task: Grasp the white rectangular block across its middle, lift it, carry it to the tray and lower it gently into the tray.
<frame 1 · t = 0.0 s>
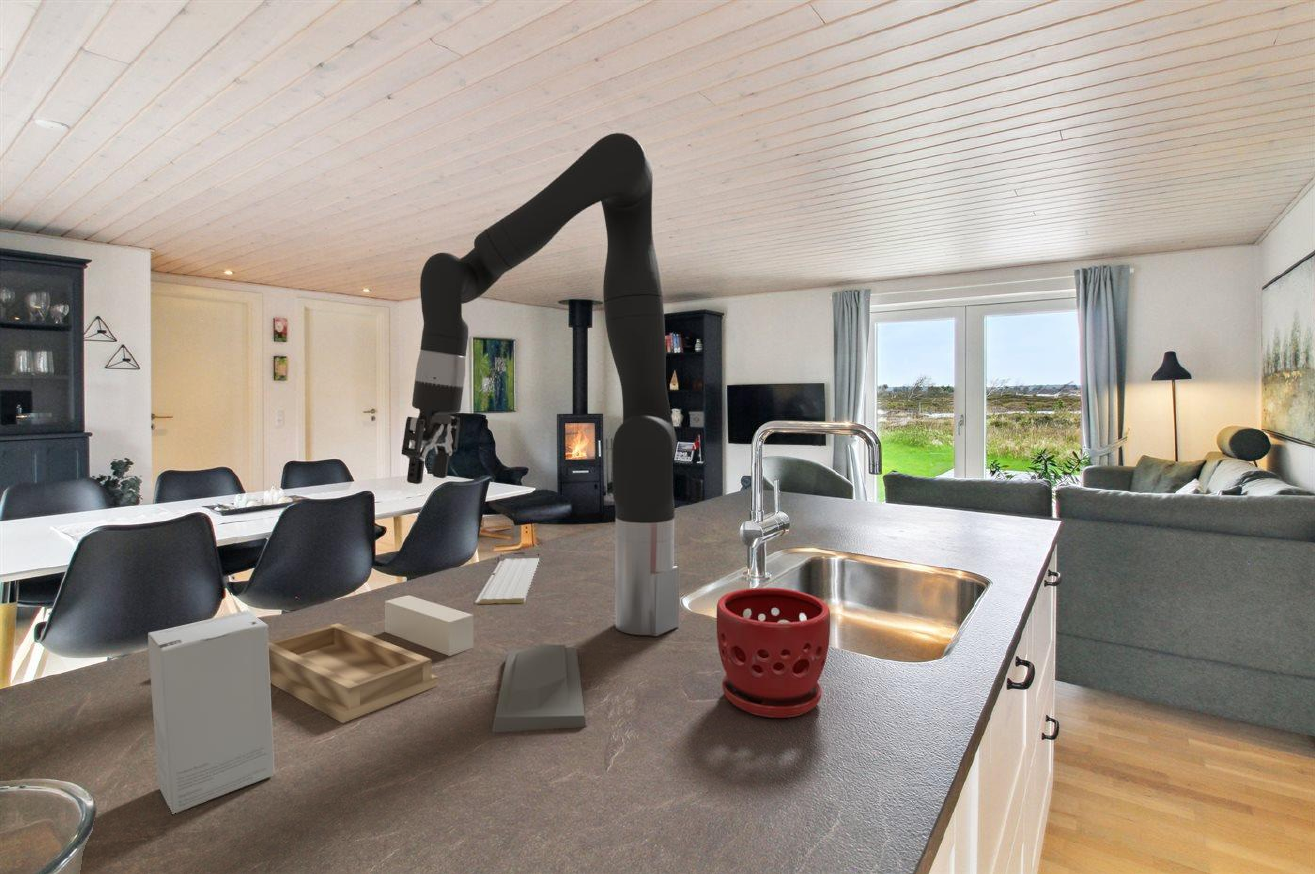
hand: (427, 480, 108), 22 cm above the countertop, tool pointing down, fingers open, 8 cm apart
ceramic fragment: (219, 674, 86), on the countertop
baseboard: (507, 584, 131), on the countertop
tray: (343, 679, 83), on the countertop
soap mold: (541, 696, 81), on the countertop
white rectangular block: (427, 641, 98), on the countertop
plant pot: (771, 703, 78), on the countertop
skincare box: (215, 786, 60), on the countertop
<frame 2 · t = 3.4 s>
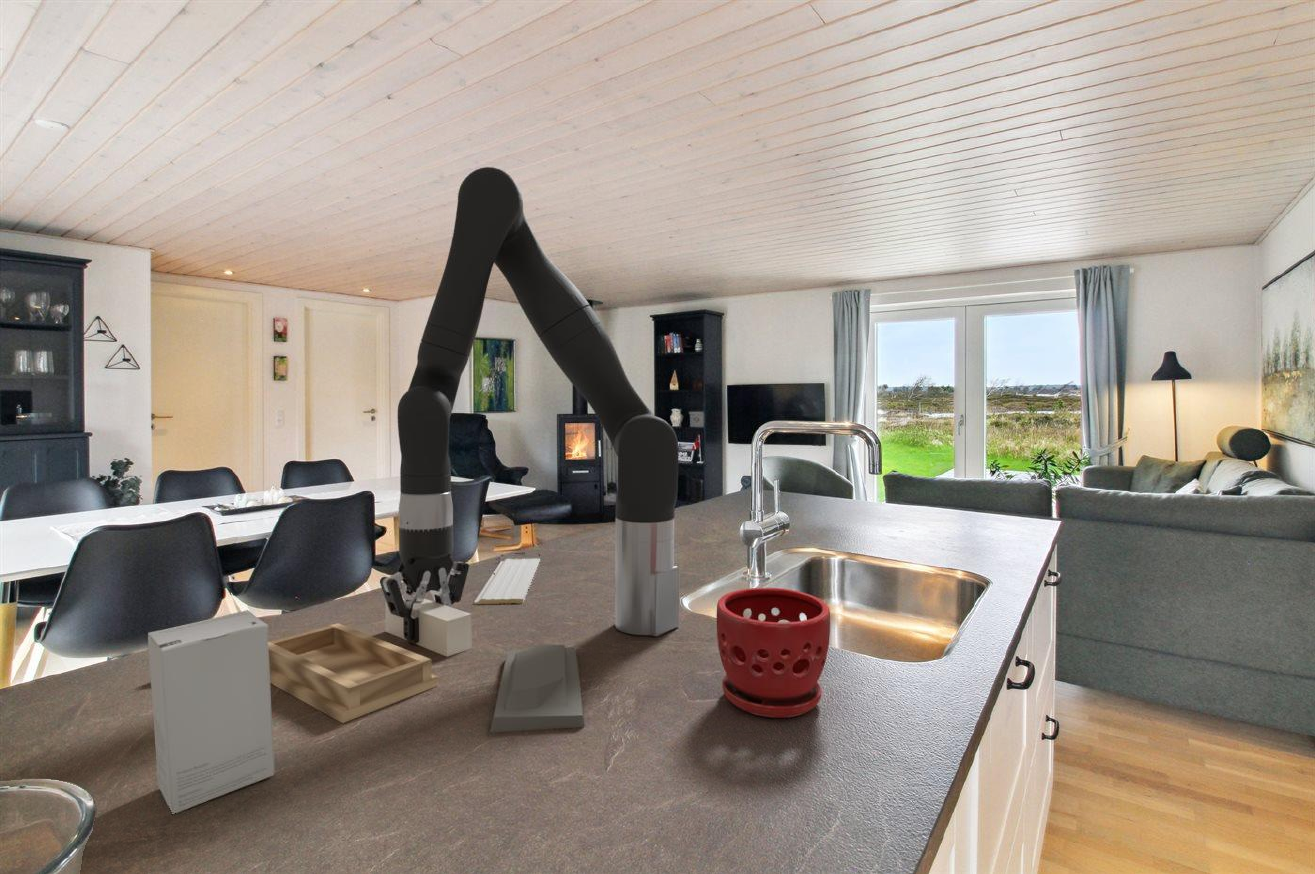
hand: (427, 636, 98), 0 cm above the countertop, tool pointing down, fingers closed on white rectangular block, 4 cm apart
ceramic fragment: (218, 677, 85), on the countertop
white rectangular block: (427, 639, 98), on the countertop, touching gripper
everything else where it was.
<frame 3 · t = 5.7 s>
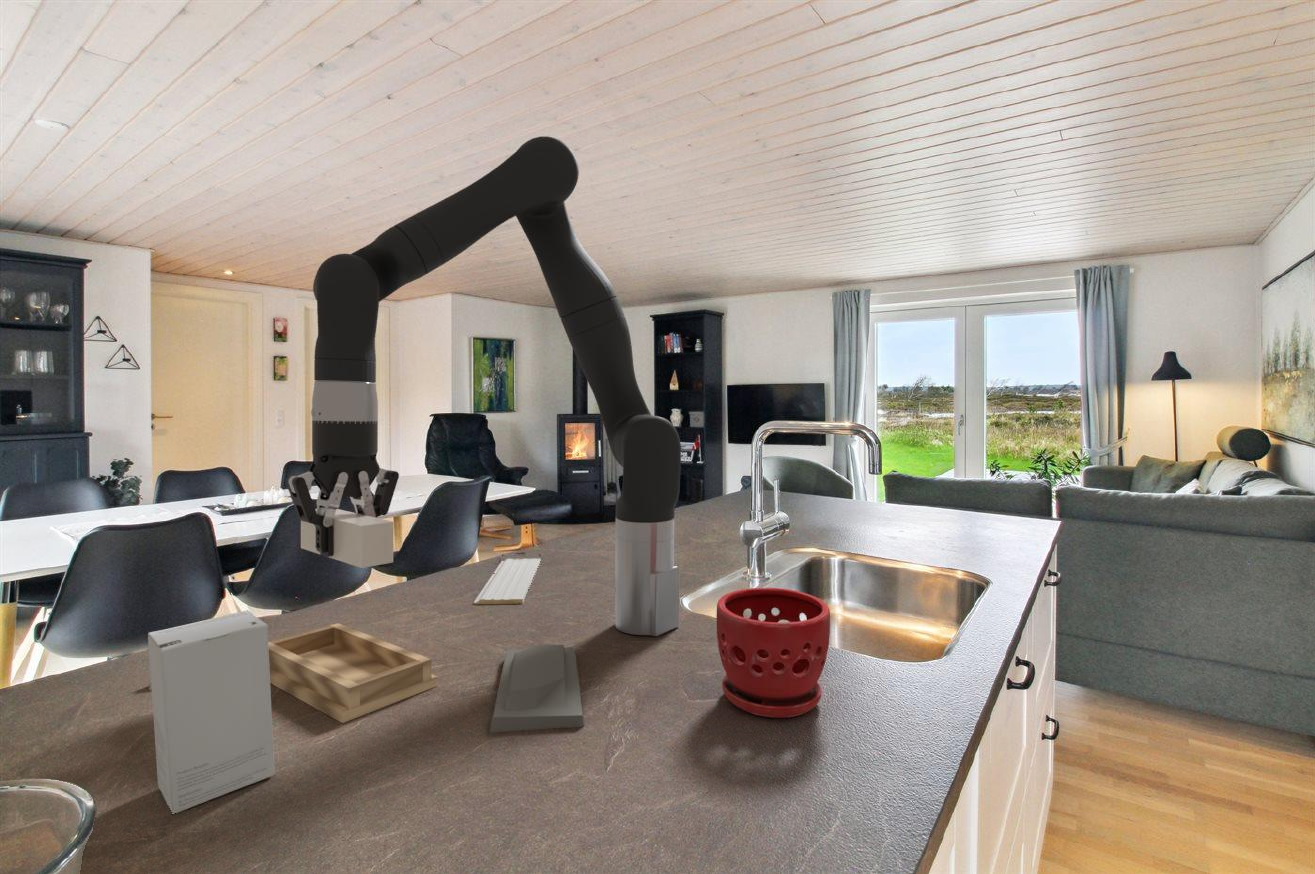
hand: (345, 551, 84), 16 cm above the countertop, tool pointing down, fingers closed on white rectangular block, 4 cm apart
white rectangular block: (345, 554, 84), point 16 cm above the countertop, touching gripper
when the fingers open (4 cm above the countertop, at t = 8.3 s): white rectangular block drops 3 cm, resting on tray.
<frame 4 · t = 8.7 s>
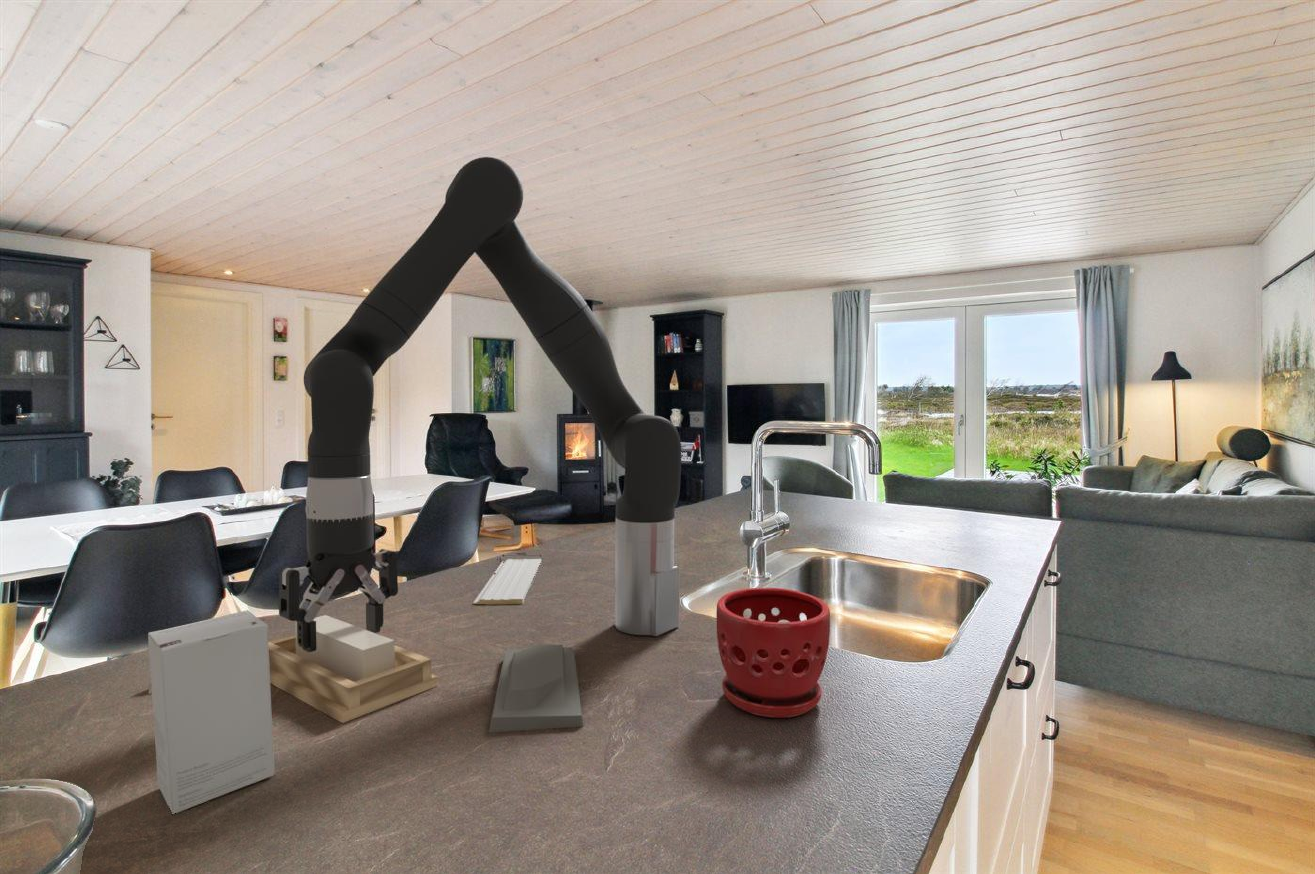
hand: (342, 640, 83), 5 cm above the countertop, tool pointing down, fingers open, 8 cm apart
white rectangular block: (343, 670, 83), point 1 cm above the countertop, touching tray
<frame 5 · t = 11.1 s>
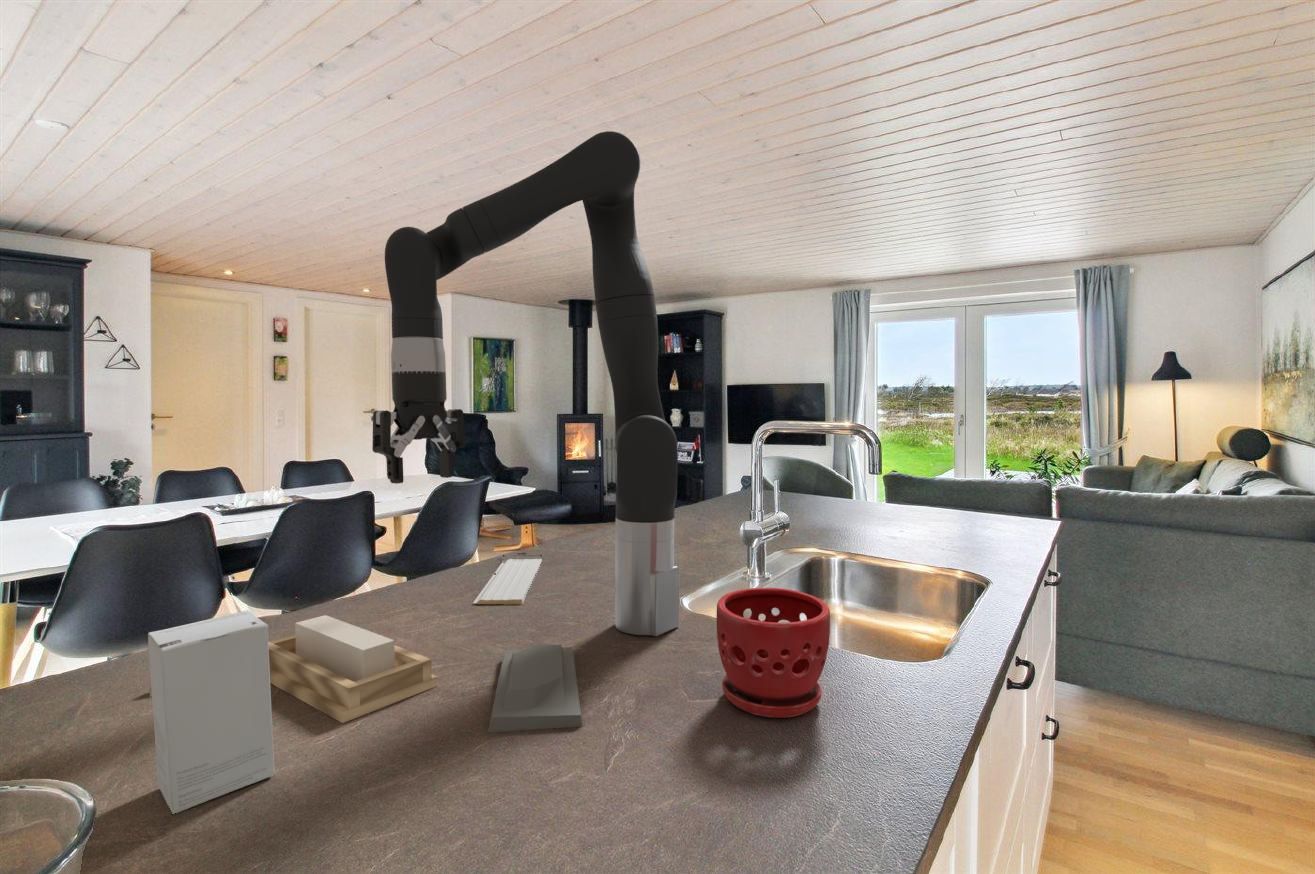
hand: (422, 480, 98), 24 cm above the countertop, tool pointing down, fingers open, 8 cm apart
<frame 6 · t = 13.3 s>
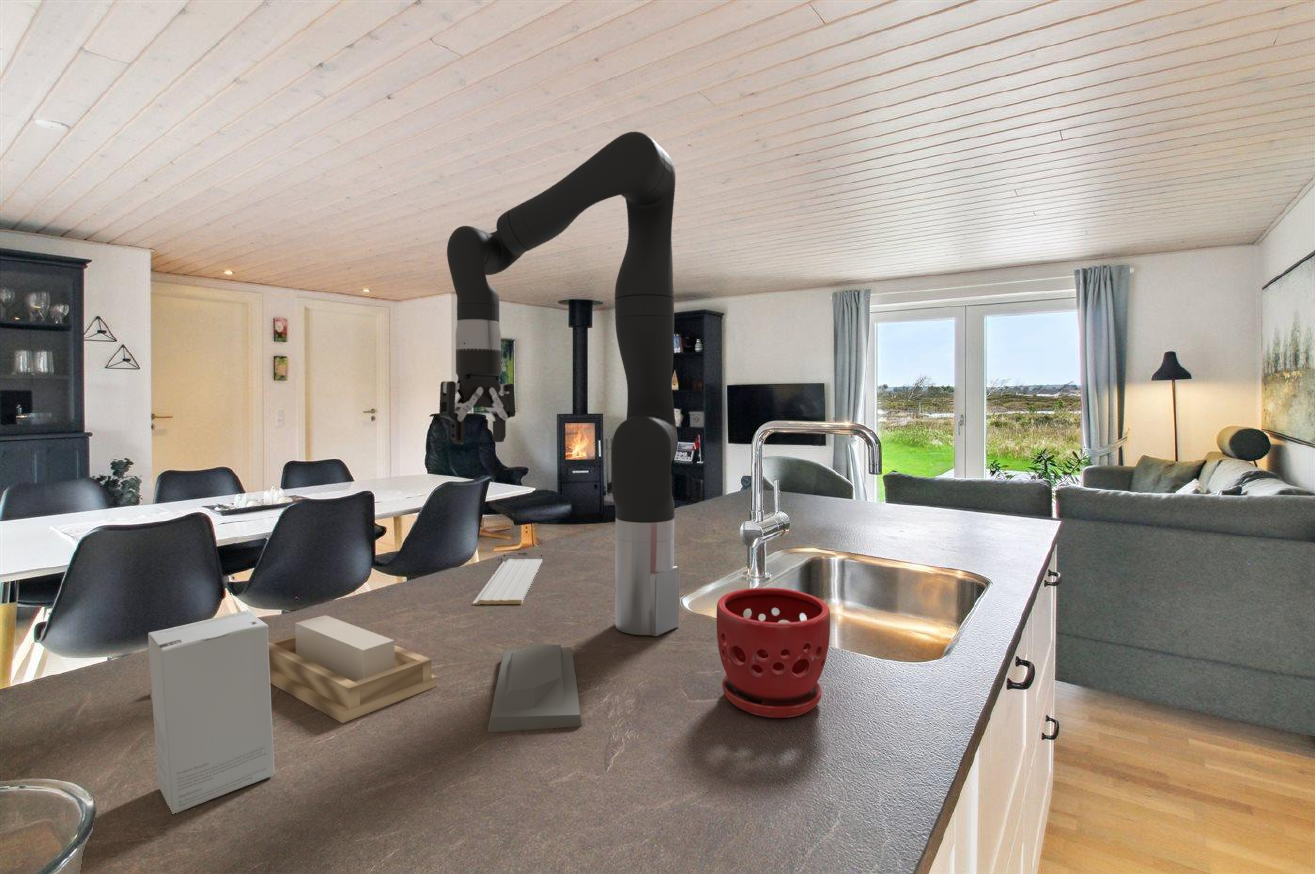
hand: (479, 442, 114), 28 cm above the countertop, tool pointing down, fingers open, 8 cm apart
at the end: white rectangular block inside the target area on the tray (0.1 cm from its centre), point 1.2 cm above the tray's base; white rectangular block tilted 0°; the gripper is holding nothing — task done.
